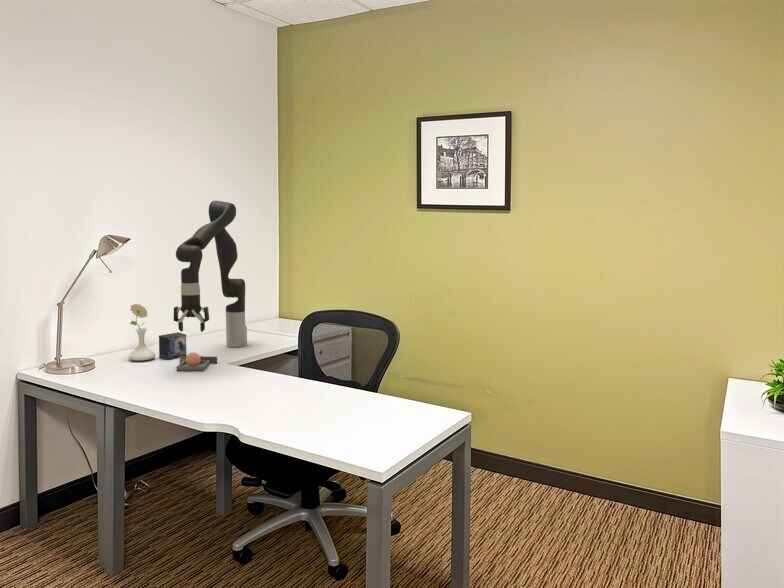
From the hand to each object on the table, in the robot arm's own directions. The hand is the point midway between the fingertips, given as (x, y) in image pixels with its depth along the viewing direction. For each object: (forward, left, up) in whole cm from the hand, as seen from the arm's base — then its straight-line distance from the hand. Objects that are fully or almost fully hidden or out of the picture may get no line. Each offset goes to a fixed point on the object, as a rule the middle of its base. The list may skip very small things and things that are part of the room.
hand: (191, 331), depth 269 cm
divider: (-7, -4, -16) cm, 18 cm away
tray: (0, 0, -16) cm, 16 cm away
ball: (0, 0, -15) cm, 15 cm away
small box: (-10, -22, -16) cm, 29 cm away
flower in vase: (0, -31, -16) cm, 35 cm away
